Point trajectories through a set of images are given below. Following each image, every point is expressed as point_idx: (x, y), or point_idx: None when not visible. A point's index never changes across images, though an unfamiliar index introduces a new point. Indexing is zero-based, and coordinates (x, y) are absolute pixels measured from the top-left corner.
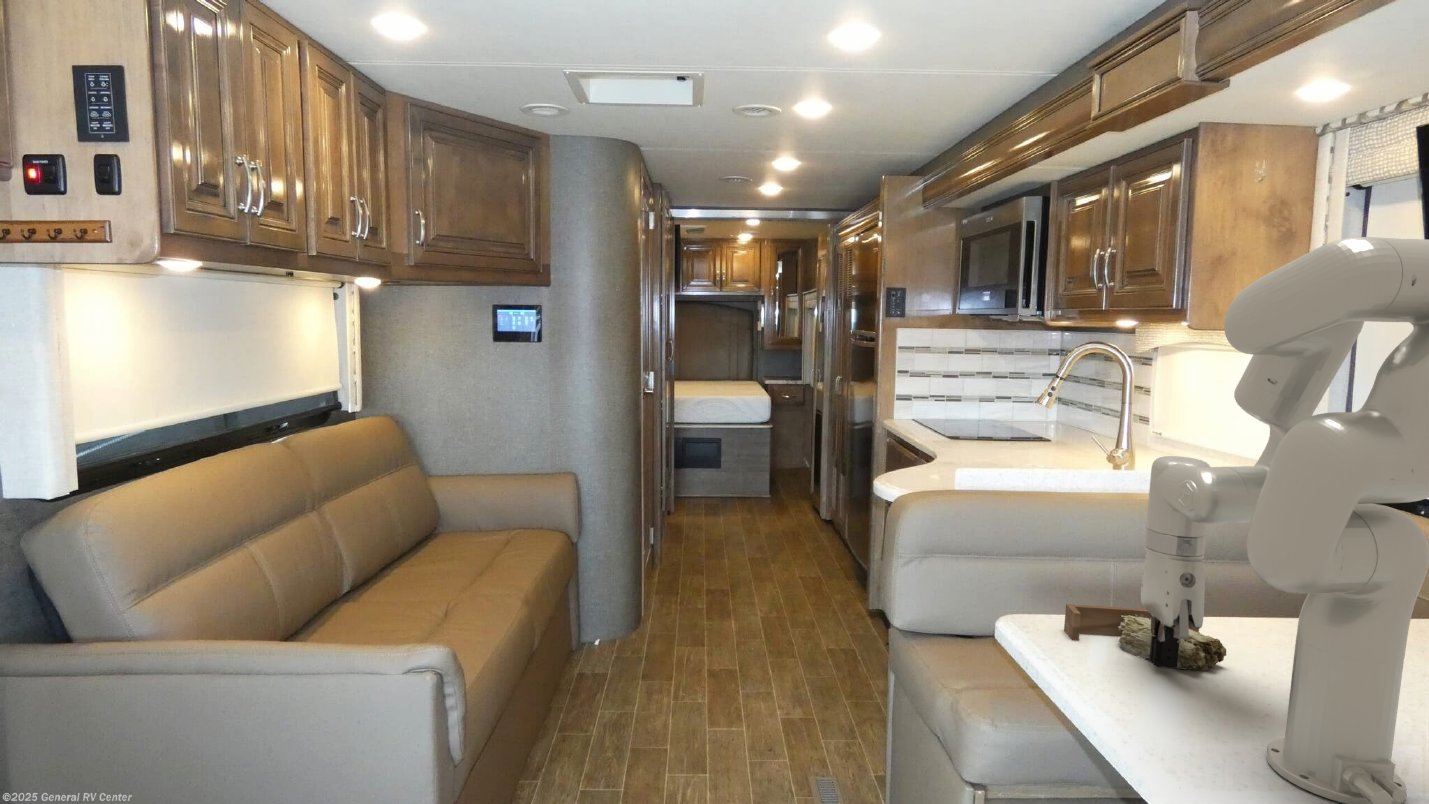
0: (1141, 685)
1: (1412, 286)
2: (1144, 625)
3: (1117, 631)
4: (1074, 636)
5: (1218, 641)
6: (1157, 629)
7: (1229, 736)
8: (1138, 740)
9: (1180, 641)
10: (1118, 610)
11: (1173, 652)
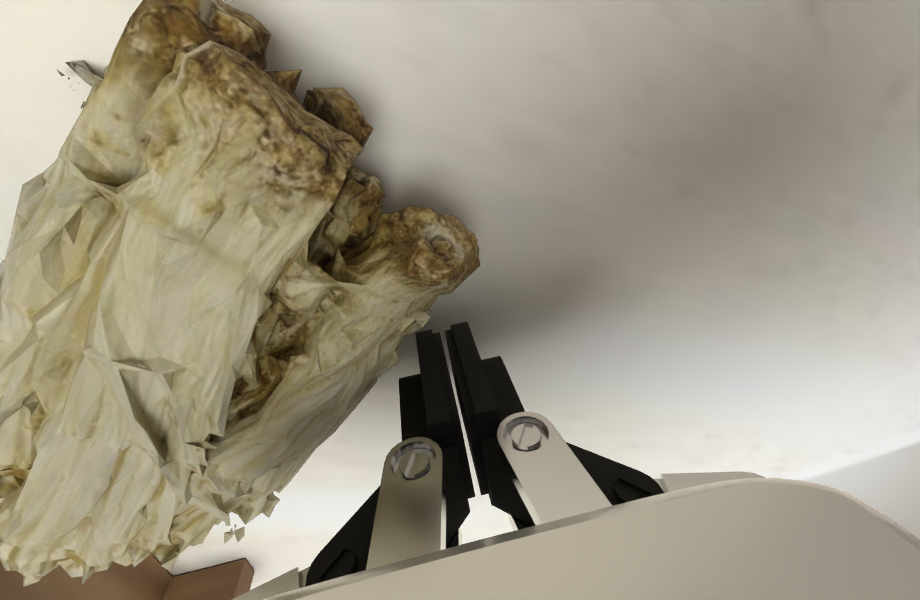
0: (583, 415)
1: None
2: (179, 511)
3: None
4: (248, 583)
5: (247, 74)
6: (459, 542)
7: (915, 234)
8: (871, 439)
9: (548, 422)
10: None
11: (516, 394)
